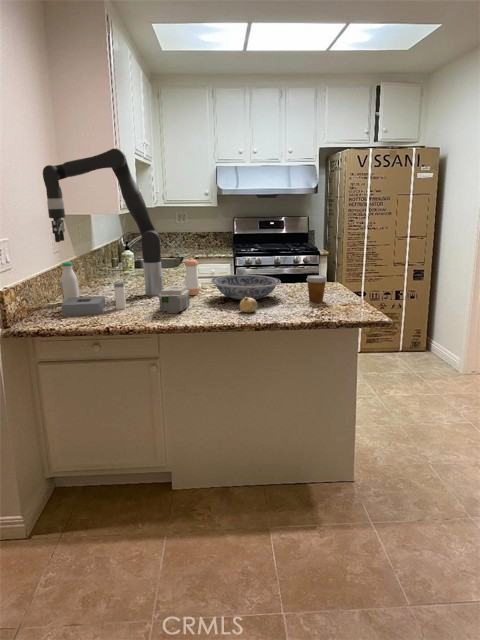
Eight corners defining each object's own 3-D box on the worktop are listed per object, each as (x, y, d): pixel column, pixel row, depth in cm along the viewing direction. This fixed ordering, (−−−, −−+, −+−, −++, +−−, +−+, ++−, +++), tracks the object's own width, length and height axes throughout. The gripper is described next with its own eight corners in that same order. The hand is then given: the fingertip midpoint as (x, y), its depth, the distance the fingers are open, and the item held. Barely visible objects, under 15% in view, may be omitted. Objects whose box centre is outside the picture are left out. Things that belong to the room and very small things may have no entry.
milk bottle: (83, 301, 229) (78, 261, 224) (72, 304, 222) (68, 263, 217) (70, 300, 231) (65, 261, 226) (59, 304, 224) (54, 263, 219)
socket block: (105, 306, 217) (104, 296, 216) (100, 314, 202) (99, 303, 201) (70, 307, 215) (69, 297, 214) (62, 316, 200) (61, 305, 199)
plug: (126, 307, 215) (124, 282, 212) (125, 309, 211) (123, 283, 208) (117, 307, 214) (115, 282, 211) (116, 309, 210) (113, 283, 207)
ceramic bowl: (283, 306, 212) (284, 284, 209) (209, 307, 211) (209, 286, 209) (277, 291, 245) (277, 273, 242) (213, 292, 245) (212, 274, 242)
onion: (239, 310, 206) (239, 294, 204) (257, 309, 206) (257, 294, 204) (239, 314, 198) (239, 298, 196) (257, 314, 198) (257, 298, 196)
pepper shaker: (197, 296, 237) (195, 259, 232) (183, 295, 238) (181, 258, 233) (201, 293, 244) (199, 257, 239) (188, 292, 245) (186, 257, 240)
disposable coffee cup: (328, 300, 222) (329, 275, 219) (323, 304, 214) (323, 278, 210) (309, 298, 226) (309, 274, 223) (303, 302, 217) (303, 277, 214)
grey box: (155, 315, 196) (154, 292, 194) (168, 305, 224) (167, 284, 222) (183, 315, 195) (182, 292, 194) (192, 304, 223) (191, 284, 222)
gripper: (60, 208, 219) (64, 242, 223) (67, 207, 233) (70, 239, 237) (44, 208, 218) (48, 242, 222) (51, 208, 232) (55, 240, 236)
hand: (60, 241), depth 230 cm, fingers open, 8 cm apart
